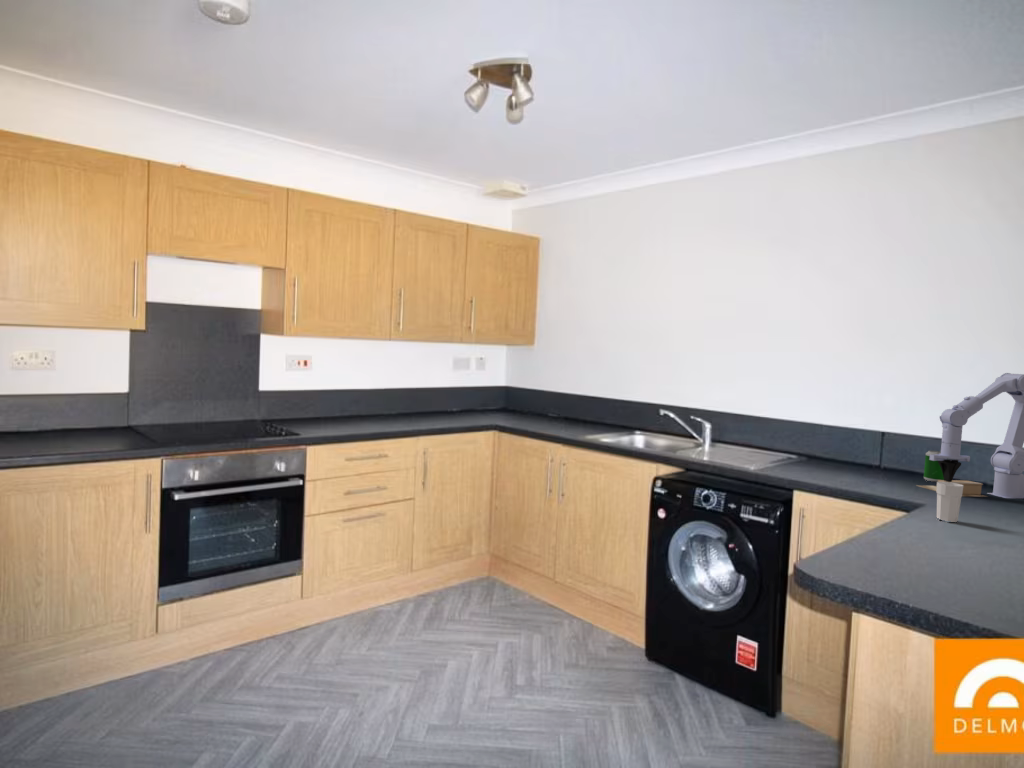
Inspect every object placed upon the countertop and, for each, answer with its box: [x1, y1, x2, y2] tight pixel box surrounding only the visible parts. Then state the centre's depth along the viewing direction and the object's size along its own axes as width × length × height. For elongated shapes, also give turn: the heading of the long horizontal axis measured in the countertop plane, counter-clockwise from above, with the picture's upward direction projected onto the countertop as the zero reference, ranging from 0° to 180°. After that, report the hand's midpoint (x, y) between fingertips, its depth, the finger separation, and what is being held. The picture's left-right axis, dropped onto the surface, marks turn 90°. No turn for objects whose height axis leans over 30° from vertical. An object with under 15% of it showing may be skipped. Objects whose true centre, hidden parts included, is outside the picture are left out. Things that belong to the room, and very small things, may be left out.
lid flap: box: [938, 479, 984, 486], centre depth 233 cm, size 12×6×1 cm, turn 99°
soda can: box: [923, 450, 944, 483], centre depth 256 cm, size 8×8×12 cm
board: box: [915, 484, 989, 498], centre depth 236 cm, size 14×17×1 cm
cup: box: [936, 482, 964, 523], centre depth 192 cm, size 7×7×11 cm
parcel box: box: [938, 481, 983, 495], centre depth 233 cm, size 12×6×4 cm, turn 99°
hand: (947, 481), depth 232 cm, fingers closed
